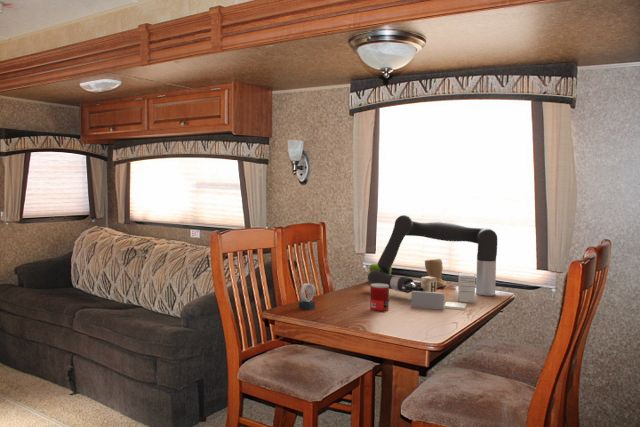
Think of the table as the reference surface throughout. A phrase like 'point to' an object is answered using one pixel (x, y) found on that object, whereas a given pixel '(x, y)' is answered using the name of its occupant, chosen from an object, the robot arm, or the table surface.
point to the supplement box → (466, 287)
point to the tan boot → (435, 270)
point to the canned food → (379, 297)
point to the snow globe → (307, 303)
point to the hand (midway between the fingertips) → (428, 289)
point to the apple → (377, 268)
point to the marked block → (429, 284)
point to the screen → (427, 300)
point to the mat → (455, 305)
